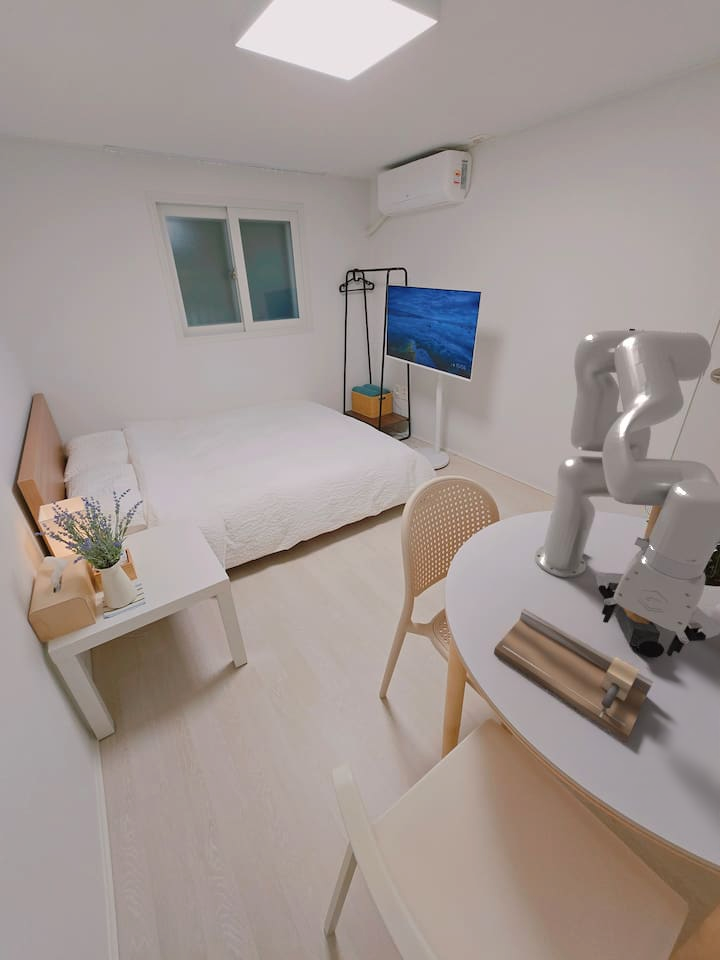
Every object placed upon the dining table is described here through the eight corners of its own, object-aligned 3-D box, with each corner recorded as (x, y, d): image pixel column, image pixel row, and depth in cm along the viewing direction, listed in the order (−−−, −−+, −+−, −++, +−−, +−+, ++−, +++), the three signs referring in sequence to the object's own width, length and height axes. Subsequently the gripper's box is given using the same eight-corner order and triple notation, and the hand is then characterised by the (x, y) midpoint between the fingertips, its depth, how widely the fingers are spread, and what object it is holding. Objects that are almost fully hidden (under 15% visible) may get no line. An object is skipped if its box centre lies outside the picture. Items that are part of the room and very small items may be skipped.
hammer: (603, 599, 100) (632, 486, 91) (626, 603, 99) (657, 489, 90) (634, 655, 82) (674, 520, 73) (662, 660, 81) (706, 524, 71)
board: (520, 621, 92) (524, 608, 90) (645, 695, 76) (653, 681, 74) (493, 653, 85) (496, 639, 83) (625, 742, 68) (633, 727, 66)
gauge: (608, 672, 78) (615, 656, 76) (631, 685, 76) (639, 670, 73) (590, 704, 72) (597, 688, 70) (615, 720, 70) (622, 704, 68)
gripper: (603, 543, 64) (577, 618, 73) (743, 601, 53) (693, 681, 62) (619, 524, 69) (592, 596, 77) (751, 573, 58) (703, 651, 66)
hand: (637, 633), depth 69 cm, fingers open, 9 cm apart
